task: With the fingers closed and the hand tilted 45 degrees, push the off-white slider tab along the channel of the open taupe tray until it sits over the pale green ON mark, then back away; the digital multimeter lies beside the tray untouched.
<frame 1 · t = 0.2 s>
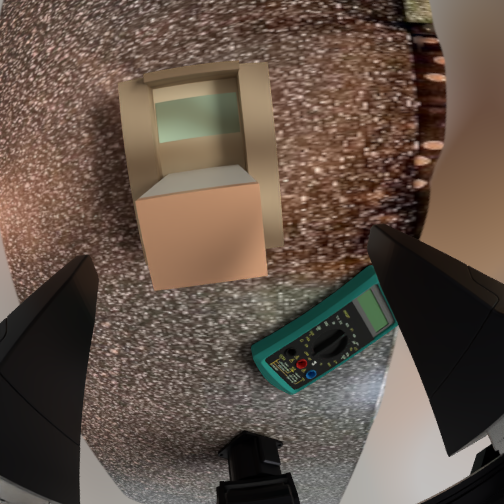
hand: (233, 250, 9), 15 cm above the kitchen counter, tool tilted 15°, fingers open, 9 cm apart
switch tab: (205, 211, 17), point 7 cm above the kitchen counter, slide at 0.0 cm
open taupe tray: (203, 160, 23), on the kitchen counter
digital multimeter: (325, 326, 31), on the kitchen counter
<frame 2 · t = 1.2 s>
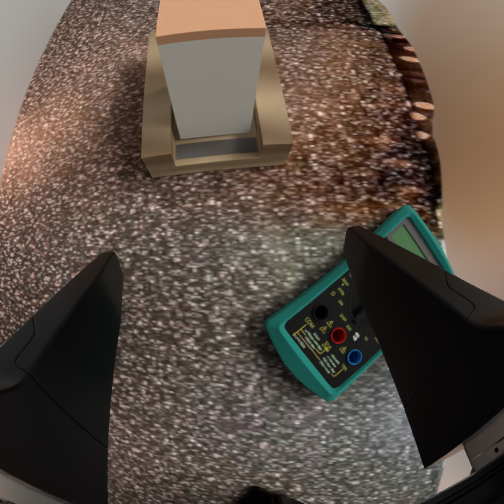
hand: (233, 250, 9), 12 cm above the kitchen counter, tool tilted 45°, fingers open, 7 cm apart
switch tab: (211, 69, 16), point 7 cm above the kitchen counter, slide at 0.0 cm
open taupe tray: (212, 101, 24), on the kitchen counter
digital multimeter: (361, 299, 23), on the kitchen counter
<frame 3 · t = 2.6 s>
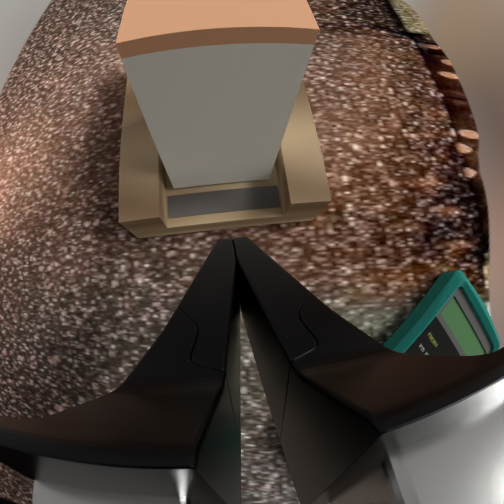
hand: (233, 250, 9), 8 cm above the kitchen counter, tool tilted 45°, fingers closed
switch tab: (216, 91, 11), point 7 cm above the kitchen counter, slide at 0.0 cm
open taupe tray: (216, 129, 18), on the kitchen counter
digital multimeter: (400, 383, 17), on the kitchen counter
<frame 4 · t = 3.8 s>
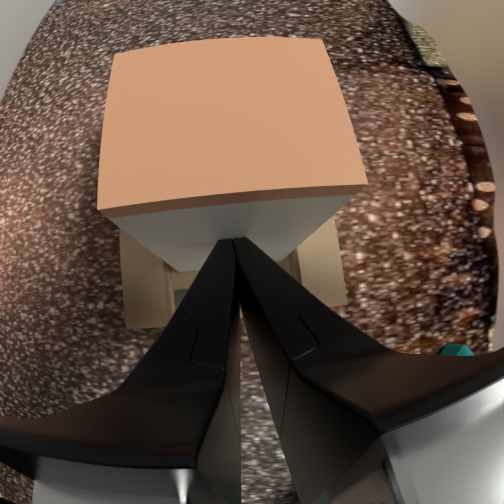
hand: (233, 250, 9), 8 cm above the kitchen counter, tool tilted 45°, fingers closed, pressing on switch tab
switch tab: (225, 190, 11), point 7 cm above the kitchen counter, slide at 0.5 cm, touching gripper
open taupe tray: (223, 201, 18), on the kitchen counter
digital multimeter: (400, 445, 17), on the kitchen counter
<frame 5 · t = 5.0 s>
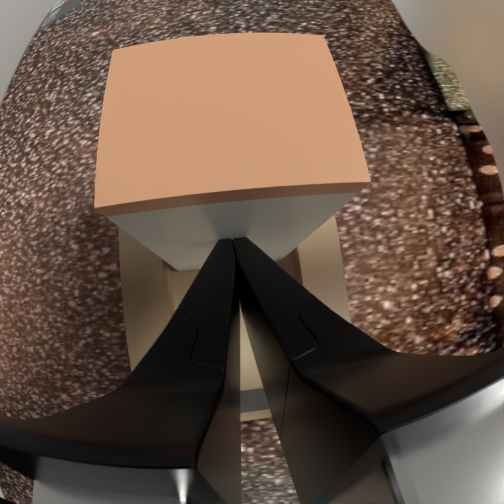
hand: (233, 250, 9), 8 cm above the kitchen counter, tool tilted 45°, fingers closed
switch tab: (225, 188, 10), point 7 cm above the kitchen counter, slide at 6.0 cm
open taupe tray: (233, 296, 17), on the kitchen counter
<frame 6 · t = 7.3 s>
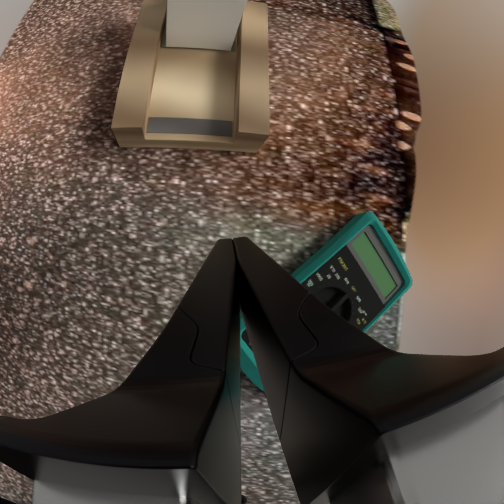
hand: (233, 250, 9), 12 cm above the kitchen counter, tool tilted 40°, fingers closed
open taupe tray: (194, 75, 21), on the kitchen counter
digital multimeter: (318, 303, 24), on the kitchen counter
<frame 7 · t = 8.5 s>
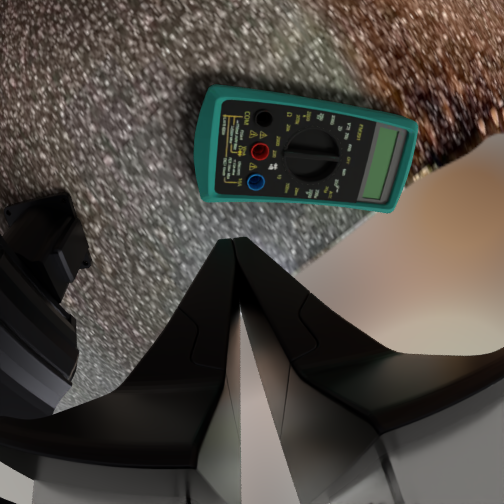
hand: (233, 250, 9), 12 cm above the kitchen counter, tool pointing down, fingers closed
digital multimeter: (306, 144, 21), on the kitchen counter
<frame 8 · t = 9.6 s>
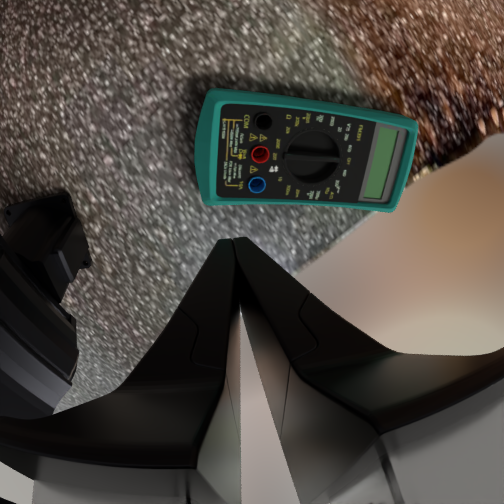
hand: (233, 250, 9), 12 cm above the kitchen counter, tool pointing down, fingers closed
digital multimeter: (307, 146, 21), on the kitchen counter
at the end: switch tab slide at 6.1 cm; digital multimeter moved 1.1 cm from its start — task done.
